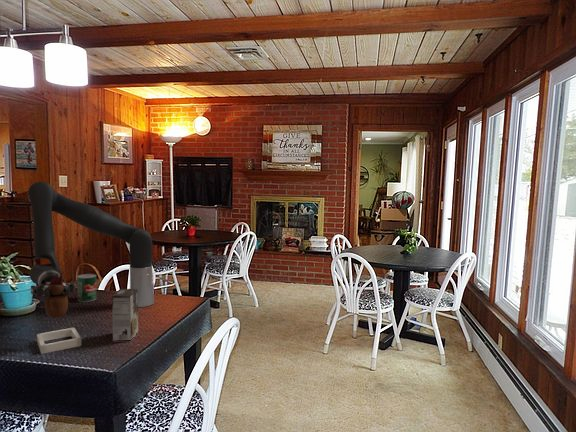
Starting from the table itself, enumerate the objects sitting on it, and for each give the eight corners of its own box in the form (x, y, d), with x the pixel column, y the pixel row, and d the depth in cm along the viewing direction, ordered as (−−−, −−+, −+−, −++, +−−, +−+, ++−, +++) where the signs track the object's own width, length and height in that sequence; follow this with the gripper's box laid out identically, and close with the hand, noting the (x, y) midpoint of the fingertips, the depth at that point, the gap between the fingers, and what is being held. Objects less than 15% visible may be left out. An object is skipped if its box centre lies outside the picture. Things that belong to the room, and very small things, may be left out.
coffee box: (120, 331, 148) (120, 288, 146) (138, 331, 148) (138, 288, 147) (111, 341, 138) (111, 295, 137) (131, 341, 139) (130, 295, 138)
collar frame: (74, 334, 144) (74, 327, 144) (81, 345, 134) (81, 338, 134) (37, 341, 137) (36, 334, 137) (41, 354, 128) (41, 346, 127)
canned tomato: (90, 302, 182) (90, 278, 181) (73, 301, 182) (73, 277, 181) (100, 297, 189) (99, 274, 188) (83, 296, 190) (83, 273, 189)
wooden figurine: (72, 315, 137) (70, 271, 136) (57, 320, 132) (55, 275, 130) (57, 312, 139) (55, 269, 138) (41, 317, 134) (40, 273, 133)
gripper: (27, 274, 141) (31, 285, 128) (72, 269, 150) (81, 279, 136) (27, 295, 142) (32, 308, 129) (73, 289, 151) (82, 301, 137)
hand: (57, 293), depth 133 cm, fingers closed on wooden figurine, 4 cm apart
